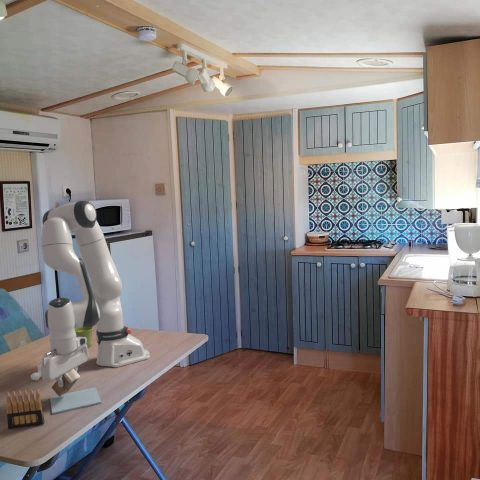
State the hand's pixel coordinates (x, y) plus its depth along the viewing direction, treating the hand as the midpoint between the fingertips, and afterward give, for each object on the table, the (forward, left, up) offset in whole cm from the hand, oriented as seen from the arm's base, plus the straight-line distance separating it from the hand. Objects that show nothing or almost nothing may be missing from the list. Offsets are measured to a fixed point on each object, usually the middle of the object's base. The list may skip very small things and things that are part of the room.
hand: (67, 382), depth 174 cm
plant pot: (-12, -59, -7) cm, 61 cm away
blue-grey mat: (-2, +2, -6) cm, 7 cm away
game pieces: (+9, -31, -7) cm, 33 cm away
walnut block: (+3, -3, -3) cm, 5 cm away
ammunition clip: (+14, +13, -7) cm, 20 cm away
